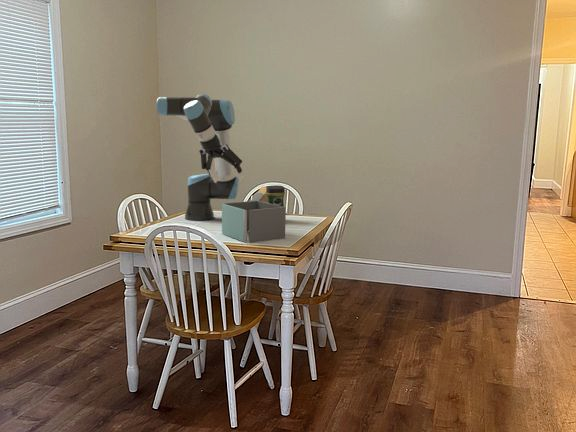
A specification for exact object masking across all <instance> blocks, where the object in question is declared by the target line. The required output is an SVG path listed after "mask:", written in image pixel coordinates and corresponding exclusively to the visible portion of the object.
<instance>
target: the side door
mask: <svg viewBox="0 0 576 432" xmlns="http://www.w3.org/2000/svg"><path fill="white" fill-rule="evenodd" d="M221 234H222V235H225V236H227V237H230V238H232V239H236V240H238V241H240V242H244V243H247V242H248V231H247V210H244V209H240V208H237V207H233V206H229V205H226V204H224V203H223V204H221Z"/></svg>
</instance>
